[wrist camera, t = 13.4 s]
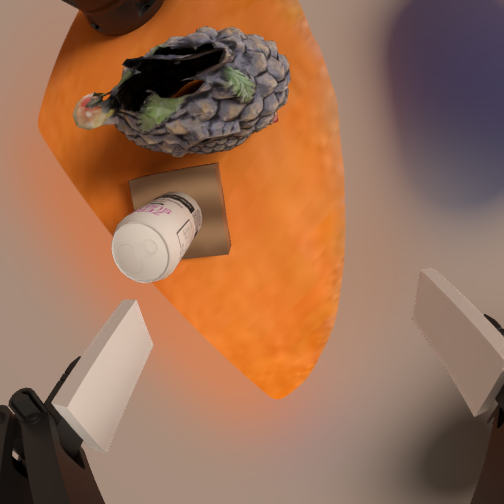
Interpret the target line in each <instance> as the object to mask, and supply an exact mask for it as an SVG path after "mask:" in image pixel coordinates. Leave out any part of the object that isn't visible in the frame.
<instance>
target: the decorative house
mask: <svg viewBox="0 0 504 504" xmlns="http://www.w3.org/2000/svg"><path fill="white" fill-rule="evenodd" d="M122 65H123V66H125V67H124V68H123V73H122V79H121V81H120V83H119V84H118V85H117V86H115V87H114V88H113V89H112V91H111V92H109V93H107V94H110V93H111V94H110V97H109V98H108V99H107V100H104V101H103V100H102V99H103V96H106V95H107V94H104V93H95V92H94V93H91V94H89V95H87V96H85V97H83V98H82V99H81V100H80V101H79V102H78V103H77V104H76V107H75V110H74V112H73V117H74V120H75V123H76V125H77V126H78V127H79V128H83V129H87V130H90V129H94V128H96V127H99V126H101V125H109V124H115V126H116V128H117V129H118V130H119V131H120V132H122V133H124V134H126V138H127V139H129V140H130V141H134V142H135V144H136V145H137V146H141V147H143V148H145V149H150V150H151V151H158V152H164V153H170V154H171V155H172V156H173V157H179V158H181V157H183V156H184V155H185V154H193V153H197V154H201V155H202V154H208V153H215V152H221V151H228V150H231V149H233V148H235V147H236V146H238V145H240V144H242V143H243V142H244V141H245V140H246V139H247V138H248V137H249V136H250V135H251V134H252V133H254V132H259V131H261V130H262V129H263V128H266V127H267V126H268V125H271V124H273V123H275V122H278V115H277V112H276V111H277V110H278V109H279V108H281V107H282V106H283V105H285V104H286V103H287V98H288V92H289V89H288V84H289V82H290V80H291V78H290V70H289V63H288V60H287V58H286V56H285V55H281V54H278V51H277V46H276V42H274V41H264V38H263V37H261V36H259V35H257V34H252V35H246V34H244V33H243V32H241V31H240V30H239V29H237V28H235V27H229V28H225V29H223V30H220V31H216V30H215V29H214V28H212V27H207V26H204V27H202V28H199V29H197V30H196V32H195V33H193V34H188V35H187V36H185V37H183V36H178V37H170V38H169V39H168V40H167V41H166V42H165V43H163V44H160V45H158V46H156V47H154V48H151V49H150V51H149V52H148V53H146V55H145V56H144V57H143V56H142V57H139V58H133V59H126V60H125V62H124V63H123V64H122ZM195 80H203V81H205V82H204V83H203V84H202V86H201V87H200V88H199V89H198V90H197V91H196V92H195V93H193V94H188V95H184V96H181V97H179V98H172V96H174V95H175V94H176V93H177V92H178V91H179V90H180V89H181V88H182V87H184V86H185V85H187V84H188V83H190V82H192V81H195Z"/></svg>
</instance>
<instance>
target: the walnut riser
mask: <svg viewBox="0 0 504 504" xmlns="http://www.w3.org/2000/svg"><path fill="white" fill-rule="evenodd" d="M128 182H129V187H130V192H131V197H132V202H133V206H134V211H136V210H137V209H139V208H141V207H142V206H144V205H146V204H147V203H149V202H151V201H152V200H154V199H156V198H157V197H159V196H161V195H163V194H165V193H168V192H182V193H185V194H187V195H189V196H190V197H191V198H193V199H194V200H195V201H196V202H197V204H198V206H199V208H200V209H201V214H202V224H201V228H200V230H199V232H198V234H197V235H196V237H195V238H194V240H193V241H192V243H191V245H190V246H189V248H188V249H187V251H186V252H185V254H184V255H183V257H182V258H181V259H190V258H199V257H208V256H218V255H227V254H229V251H230V248H231V241H230V235H229V229H228V222H227V216H226V209H225V203H224V196H223V189H222V183H221V176H220V169H219V162H218V163H212V164H206V165H199V166H194V167H188V168H182V169H177V170H171V171H166V172H161V173H156V174H151V175H147V176H142V177H138V178H135V179H132V180H129V181H128Z"/></svg>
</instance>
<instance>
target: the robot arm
mask: <svg viewBox="0 0 504 504" xmlns="http://www.w3.org/2000/svg"><path fill="white" fill-rule="evenodd" d="M62 1H64V2H66V3H68V4H70V5H72V6H73V7H75V8H77V9H79V10H81V11H83V13H84V15H85V17H86V19H87V21H88V22H89V24H90V26H91V27H92V28H93V29H94V30H96V31H98V32H99V33H101V34H104V35H108V36H116V35H122V34H125V33H128V32H131V31H133V30H135V29H137V28H138V27H140V26H142V25H143V24H144V23H146V22H147V21H148V20H149V19H150V18H152V17H153V16H154V14H155V13H156V12H157V11H158V10H159V8H160V7H161V5H162V3H163V1H164V0H62ZM412 320H413V321H414V322H415V324H416V325H417V327H418V328H419V329H420V331H421V332H422V334H423V335H424V337H425V338H426V340H427V341H428V343H429V344H430V345H431V347H432V348H433V350H434V351H435V353H436V354H437V356H438V357H439V359H440V360H441V362H442V364H443V365H444V367H445V368H446V370H447V371H448V373H449V375H450V376H451V378H452V379H453V381H454V383H455V384H456V386H457V388H458V389H459V391H460V393H461V394H462V396H463V398H464V399H465V401H466V403H467V405H468V406H469V408H470V410H471V412H472V413H473V415H474V416H477V415H479V414H481V413H483V412H485V411H487V410H488V409H489V408H490V406H491V405H492V403H493V402H494V400H495V399H496V401H497V402H498V405H497V407H496V408H495V410H494V411H493V413H492V414H491V416H490V417H489V419H488V421H487V423H489V422H490V421H491V420H492V418H493V417H494V420H493V423H492V424H493V426H492V431H491V436H490V441H489V445H488V449H487V453H486V457H485V461H484V464H483V468H482V471H481V474H480V478H479V481H478V484H477V487H476V489H475V492H474V495H473V498H472V500H471V503H470V504H504V329H502V327H501V326H500V325H499V324H498V322H497V321H495V320H494V319H493V318H491V317H489V316H488V315H486V314H484V315H483V314H482V313H481V312H480V311H478V309H477V308H475V306H473V304H472V303H471V302H469V300H468V299H466V298H465V297H464V296H463V295H462V294H461V293H460V292H459V291H458V290H457V289H456V288H455V287H454V286H453V285H452V284H450V282H448V281H447V280H446V279H445V278H444V277H443V276H442V275H441V274H440V273H438V272H437V271H436V270H435V269H434V268H428V269H422V270H420V275H419V282H418V289H417V295H416V300H415V306H414V311H413V316H412ZM152 347H153V343H152V341H151V338H150V335H149V333H148V330H147V328H146V325H145V322H144V320H143V317H142V314H141V311H140V309H139V306H138V303H137V300H136V299H134V300H122V302H121V303H120V304H119V306H118V307H117V308H116V310H115V311H114V312H113V314H112V315H111V316H110V318H109V319H108V320H107V322H106V323H105V324H104V326H103V327H102V329H101V330H100V331H99V333H98V334H97V335H96V337H95V338H94V340H93V341H92V342H91V344H90V345H89V347H88V348H87V349H86V351H85V352H84V354H83V355H82V357H81V356H79V357H78V358H77V359H75V360H74V361H73V362H72V363H71V364H70V365H69V367H68V368H67V369H66V371H65V374H63V375H62V377H61V378H60V381H58V383H57V384H56V386H55V387H54V389H53V390H52V392H51V393H50V395H49V396H48V398H47V400H46V401H45V403H44V404H43V402H42V401H41V400H40V398H39V397H38V396H37V394H36V393H35V392H34V391H33V390H32V389H31V388H23V389H20V390H18V391H17V392H16V393H14V395H12V397H11V399H10V400H9V405H8V406H9V407H10V408H11V409H12V411H13V412H14V413H15V414H13V413H12V412H11V410H10V409H9V408H8V407H7V406H5V405H0V504H105V502H104V500H103V498H102V496H101V493H100V491H99V489H98V486H97V484H96V481H95V480H94V476H93V474H92V471H91V469H90V466H89V463H88V460H87V458H86V455H85V452H84V450H83V448H82V447H81V444H82V442H83V441H84V442H85V443H86V444H87V445H88V446H89V447H90V448H91V449H93V450H97V451H100V452H104V453H107V452H108V449H109V447H110V444H111V441H112V439H113V437H114V434H115V431H116V429H117V427H118V424H119V422H120V420H121V417H122V415H123V412H124V410H125V408H126V405H127V403H128V401H129V398H130V396H131V394H132V391H133V389H134V387H135V385H136V382H137V380H138V378H139V376H140V373H141V371H142V369H143V367H144V365H145V362H146V360H147V358H148V356H149V354H150V351H151V349H152ZM13 451H15V452H16V453H17V454H18V455H19V458H18V460H16V459H15V458H14V457H13V456H12V452H13Z"/></svg>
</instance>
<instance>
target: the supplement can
mask: <svg viewBox="0 0 504 504" xmlns="http://www.w3.org/2000/svg"><path fill="white" fill-rule="evenodd" d="M201 224H202V214H201V209H200V208H199V206H198V204H197V202H196V201H195V200H194V199H193V198H191V197H190V196H189V195H187V194H185V193H182V192H168V193H165V194H163V195H161V196H159V197H157V198H156V199H154V200H152V201H151V202H149V203H147V204H146V205H144V206H142V207H141V208H139V209H137V210H136V211H134V212H132V213H131V214H129V215H128V216H126V217H125V218H124V219H123V220H122V221H121V222H120V223H119V224H118V225H117V227H116V230H115V232H114V235H113V240H112V255H113V258H114V261H115V264H116V265H117V267H118V268H119V270H120V271H121V272H122V273H123V274H124V275H126V276H127V277H128V278H129V279H132V280H134V281H136V282H141V283H150V282H155V281H159V280H162V279H165V278H166V277H167V276H169V275H170V274H171V273H172V272H173V271H174V270H175V268H176V266H177V265H178V263H179V262H180V260H181V258H182V257H183V255H184V254H185V252H186V251H187V249H188V248H189V246H190V245H191V243H192V241H193V240H194V238H195V237H196V235H197V234H198V232H199V230H200V228H201Z"/></svg>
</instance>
